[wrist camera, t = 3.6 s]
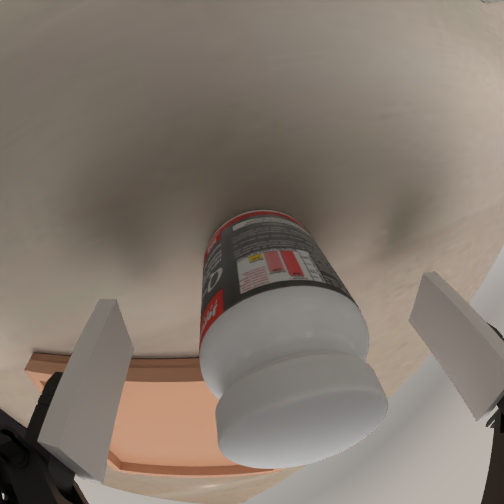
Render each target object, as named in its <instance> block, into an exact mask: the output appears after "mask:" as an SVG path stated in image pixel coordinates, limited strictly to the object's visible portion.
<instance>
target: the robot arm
mask: <svg viewBox="0 0 504 504" xmlns="http://www.w3.org/2000/svg"><path fill="white" fill-rule="evenodd" d="M409 322H410V323H411V325H412V326H413V327H414V329H415V330H416V331H417V333H418V334H419V335H420V337H421V338H422V340H423V341H424V342H425V344H426V345H427V346H428V348H429V349H430V351H431V352H432V353H433V355H434V356H435V358H436V359H437V361H438V362H439V364H440V365H441V366H442V368H443V369H444V371H445V372H446V374H447V375H448V377H449V378H450V380H451V381H452V383H453V384H454V386H455V387H456V389H457V390H458V392H459V394H460V395H461V397H462V398H463V400H464V401H465V403H466V405H467V406H468V408H469V410H470V411H471V413H472V414H473V416H474V418H475V419H476V421H479V420H480V419H482V418H484V417H485V416H487V415H489V413H490V412H491V411H492V410H493V409H494V408H495V406H496V405H497V406H498V408H499V409H498V410H497V411H496V412H495V413H494V415H493V416H492V417H491V418H490V419H489V420H488V422H487V424H486V427H488V426H489V425H490V424H491V423H492V422H493V421H494V420H495V422H494V423H493V424H492V425H491V428H494V436H493V445H492V453H491V459H490V466H489V471H488V476H487V481H486V485H485V490H484V494H483V499H482V502H481V504H504V338H503V336H502V335H501V334H500V333H499V331H498V330H497V329H496V328H494V327H493V326H491V325H490V324H488V323H487V322H486V321H485V320H483V318H482V317H481V316H480V315H479V314H478V313H477V312H476V311H475V310H474V309H473V308H472V307H471V306H470V305H469V304H468V303H467V302H466V301H465V300H464V299H463V298H462V297H461V296H460V295H459V294H458V293H457V292H456V291H455V290H454V289H453V288H452V287H451V286H450V285H449V284H448V283H447V282H446V281H445V280H444V279H443V278H441V277H440V276H439V275H438V274H437V273H436V272H428V273H423V276H422V280H421V283H420V287H419V290H418V293H417V297H416V300H415V303H414V306H413V309H412V312H411V315H410V318H409ZM133 350H134V348H133V345H132V342H131V340H130V337H129V335H128V332H127V329H126V326H125V324H124V321H123V318H122V315H121V312H120V309H119V306H118V303H117V300H116V299H100V300H99V302H98V304H97V305H96V307H95V309H94V311H93V313H92V315H91V317H90V319H89V321H88V323H87V324H86V326H85V328H84V330H83V332H82V334H81V336H80V338H79V340H78V342H77V345H76V347H75V349H74V351H73V353H72V355H71V357H70V359H69V362H68V364H67V366H66V368H65V370H64V373H63V372H55V373H54V374H53V375H52V376H51V377H50V378H49V379H48V380H47V382H46V384H45V386H44V389H43V391H42V395H40V398H39V400H38V405H36V407H35V410H34V412H33V415H32V417H31V420H30V423H29V425H28V428H27V431H26V433H25V436H24V438H23V437H22V436H21V435H20V434H19V433H18V432H17V431H16V430H14V429H13V428H12V427H10V426H6V425H4V426H0V504H89V503H88V502H87V500H86V498H85V497H84V495H83V493H82V491H81V490H80V488H79V486H78V484H77V483H76V482H75V481H74V476H75V474H77V475H78V476H79V477H81V478H82V479H84V480H88V481H92V482H96V483H100V484H103V482H104V476H105V470H106V464H107V459H108V453H109V448H110V443H111V438H112V434H113V429H114V424H115V420H116V415H117V411H118V407H119V403H120V399H121V395H122V391H123V387H124V383H125V379H126V375H127V372H128V368H129V364H130V361H131V357H132V354H133ZM2 493H4V495H5V498H4V500H3V498H2Z"/></svg>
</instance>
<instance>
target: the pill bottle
mask: <svg viewBox="0 0 504 504" xmlns="http://www.w3.org/2000/svg"><path fill="white" fill-rule="evenodd" d="M368 350H369V332H368V327H367V324H366V321H365V319H364V317H363V315H362V313H361V311H360V309H359V307H358V306H357V304H356V303H355V301H354V300H353V298H352V297H351V295H350V293H349V292H348V290H347V289H346V287H345V286H344V284H343V283H342V281H341V280H340V278H339V277H338V275H337V274H336V272H335V271H334V269H333V268H332V266H331V265H330V263H329V262H328V260H327V259H326V257H325V256H324V254H323V253H322V251H321V250H320V248H319V247H318V245H317V244H316V242H315V241H314V239H313V238H312V236H311V235H310V233H309V232H308V231H307V230H306V229H305V227H304V226H303V225H302V224H301V223H299V222H298V221H297V220H295V219H294V218H292V217H291V216H289V215H287V214H284V213H281V212H278V211H273V210H254V211H249V212H245V213H242V214H240V215H237V216H235V217H233V218H232V219H230V220H228V221H227V222H226V223H224V224H223V225H222V226H221V227H220V228H219V229H218V230H217V231H216V232H215V234H214V235H213V237H212V238H211V240H210V242H209V244H208V246H207V249H206V253H205V257H204V267H203V282H202V304H201V323H200V345H199V361H200V368H201V373H202V376H203V379H204V381H205V383H206V385H207V387H208V388H209V390H210V391H211V392H212V394H213V395H214V396H215V397H216V398H217V399H218V400H219V402H218V404H217V406H216V410H215V418H216V426H217V436H218V446H219V449H220V451H221V453H222V454H223V455H224V456H225V457H226V458H227V459H228V460H230V461H232V462H234V463H237V464H240V465H243V466H247V467H252V468H261V469H277V468H289V467H296V466H301V465H306V464H310V463H314V462H317V461H320V460H323V459H326V458H328V457H331V456H333V455H336V454H338V453H340V452H342V451H344V450H346V449H348V448H350V447H352V446H353V445H355V444H356V443H358V442H359V441H361V440H362V439H364V438H365V437H366V436H368V435H369V434H370V433H371V432H372V431H373V430H374V429H375V428H377V427H378V426H379V424H380V423H381V422H382V420H383V419H384V417H385V415H386V413H387V410H388V400H387V397H386V395H385V393H384V391H383V389H382V387H381V384H380V382H379V380H378V378H377V376H376V374H375V372H374V370H373V369H372V367H371V366H370V365H369V364H367V363H366V362H365V360H366V357H367V354H368Z"/></svg>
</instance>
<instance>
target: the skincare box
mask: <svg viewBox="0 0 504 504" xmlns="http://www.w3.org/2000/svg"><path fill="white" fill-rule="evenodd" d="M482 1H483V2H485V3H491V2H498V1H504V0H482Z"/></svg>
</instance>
